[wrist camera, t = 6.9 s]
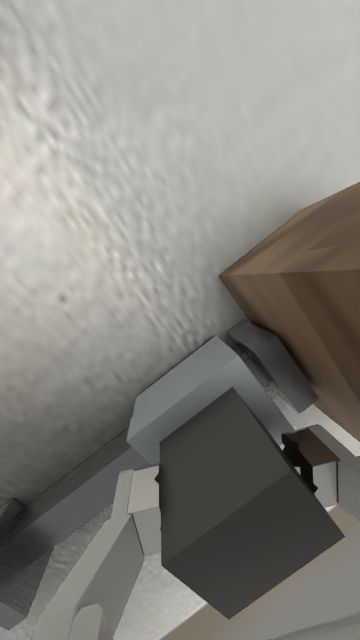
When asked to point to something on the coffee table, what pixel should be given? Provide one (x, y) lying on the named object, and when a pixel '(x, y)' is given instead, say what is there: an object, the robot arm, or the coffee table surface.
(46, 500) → the rail
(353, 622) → the robot arm
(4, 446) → the coffee table surface
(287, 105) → the coffee table surface
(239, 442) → the carriage
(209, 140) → the coffee table surface
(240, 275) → the wooden box with opening
